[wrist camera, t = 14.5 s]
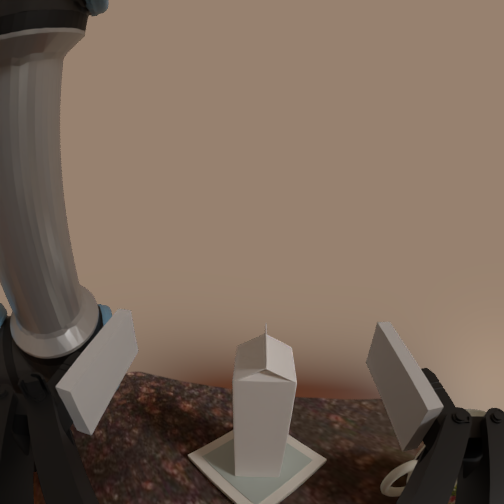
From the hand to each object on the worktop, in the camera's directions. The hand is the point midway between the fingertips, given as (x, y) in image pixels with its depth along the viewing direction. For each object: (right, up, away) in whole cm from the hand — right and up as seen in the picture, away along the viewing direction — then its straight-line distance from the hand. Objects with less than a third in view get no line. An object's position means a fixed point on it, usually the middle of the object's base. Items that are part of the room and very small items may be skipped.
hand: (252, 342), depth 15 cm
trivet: (+1, -26, +19) cm, 32 cm away
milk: (+1, -25, +19) cm, 31 cm away
